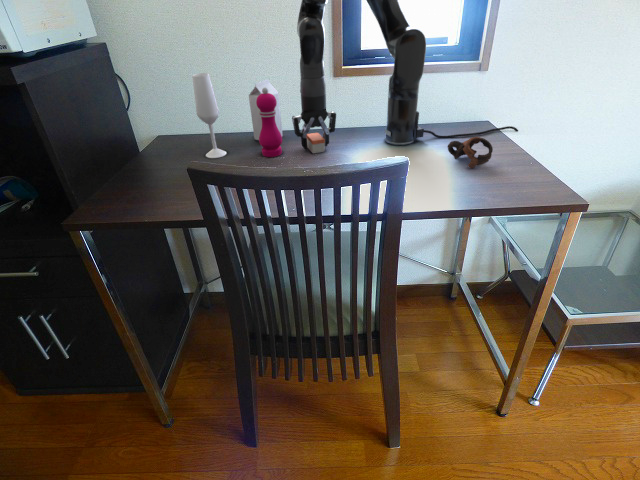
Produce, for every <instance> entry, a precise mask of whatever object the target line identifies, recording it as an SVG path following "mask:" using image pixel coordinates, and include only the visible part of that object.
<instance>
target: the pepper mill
mask: <svg viewBox="0 0 640 480" xmlns="http://www.w3.org/2000/svg"><path fill="white" fill-rule="evenodd" d="M262 92H263V94H260V95H259V96H258V97H257V100H256V104H257V107H258V108H259V109H260V111H259V113H260V116H261V119H262V129H261V132H260V136H259V140H258V143H259V145H260V146H261V147H262V148H261V154H262V156H263V157H266V158H276V157H279V156H281V155H282V153H283V150H282V146H281V145H282V144H283V137H282V136H281V133H280V131H279V130H278V128H277V125H276V122H275V115H276V110H275V107H276V105H277V101H276V98H275V97H274V95H272V94H270V93H268V89H267V88H263V89H262Z"/></svg>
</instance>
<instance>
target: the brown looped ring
mask: <svg viewBox="0 0 640 480" xmlns="http://www.w3.org/2000/svg"><path fill="white" fill-rule="evenodd" d="M479 143H482V146H483V147H484V148H487V150H488V152H487V153H486V154H478V155H477V156H475V155H476V154H477V152H478V151H477V150H475V149H473V148H472V147H473V146H474V145H477V144H479ZM493 148H494V147H493V145H492V144H491V142H490V141H488V139H486V138H484V137H481V136H473V137H472V136H471V137H470V138H468V139H467V140H465V141H462V142H461V141H458V140H452V141H450V142H449V143H448V144H447V151H448V152H449V154H450V155H452V156H453V158H454V159H455V160H457V159H459V158H460V157H463V156H467V158H468V159H469V160H470V162H468V164H467V167H468V168H470V169H474V168H476V167H479V166H481V165H484V164H486V163H488V162H489V160H491V159H492V153H493V151H494V149H493Z"/></svg>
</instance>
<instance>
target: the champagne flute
mask: <svg viewBox="0 0 640 480" xmlns="http://www.w3.org/2000/svg"><path fill="white" fill-rule="evenodd" d="M191 76H192V85H193V94H194V101H195V110H196V111H195V112H196V116H197V118H198V119H199V120H201V122H203V123H205V124H207V125H208V129H209V134H210V139H211V144H212V145H211V146H212V149H210V151H208V152H207V153H206V154H205V157H206V158H208V159H217V158H218V159H219V158H222V157H225V156H226V155H227V154H228V153H227V151H225V150H223V149H221V148H218V147H217V141H216V135H215V132H214V127H213V126H214V123H216V121H217V119H218V118H219V115H220V109H219V106H218V101H217V98H216V95H215V90H214V87H213V83H212V79H211V76H210V74H209V73H208V72H199V73H193V74H192V75H191Z"/></svg>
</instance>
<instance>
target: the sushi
mask: <svg viewBox="0 0 640 480" xmlns="http://www.w3.org/2000/svg"><path fill="white" fill-rule="evenodd" d="M306 138H307V149H308V150H309V151H310V152H311V153H312V154H318V153H324V152H326V146H325V139H324V138H323V135H321V134H320V133H319V132H312V133H307V136H306Z"/></svg>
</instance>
